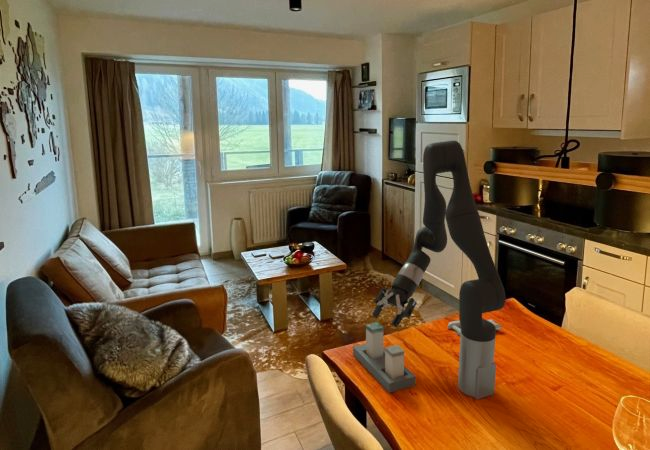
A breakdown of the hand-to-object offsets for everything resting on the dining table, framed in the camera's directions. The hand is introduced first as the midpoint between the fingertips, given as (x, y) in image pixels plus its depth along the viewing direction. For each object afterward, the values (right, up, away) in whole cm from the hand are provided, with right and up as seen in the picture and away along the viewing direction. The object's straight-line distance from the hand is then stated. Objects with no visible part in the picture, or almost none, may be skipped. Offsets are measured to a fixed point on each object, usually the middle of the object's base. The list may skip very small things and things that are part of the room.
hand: (383, 321), depth 140 cm
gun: (+36, -8, +21) cm, 42 cm away
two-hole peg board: (-1, -14, -4) cm, 15 cm away
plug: (-3, -13, +1) cm, 13 cm away
